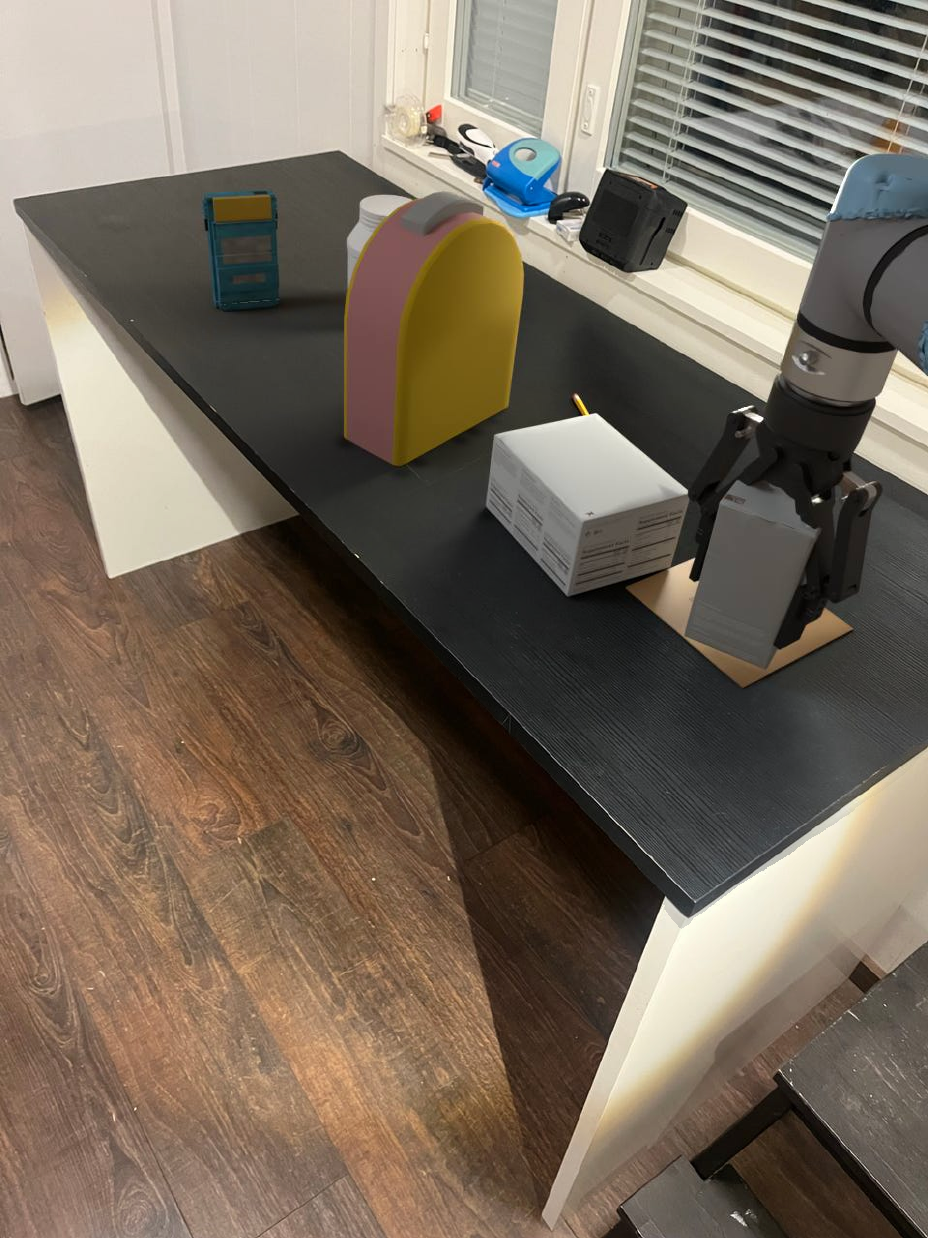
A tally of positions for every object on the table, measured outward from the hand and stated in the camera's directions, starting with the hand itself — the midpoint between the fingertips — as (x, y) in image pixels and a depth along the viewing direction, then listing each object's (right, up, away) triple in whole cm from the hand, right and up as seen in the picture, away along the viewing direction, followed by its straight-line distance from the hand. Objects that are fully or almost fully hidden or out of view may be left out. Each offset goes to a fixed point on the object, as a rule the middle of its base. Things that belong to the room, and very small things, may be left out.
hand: (742, 607), depth 86 cm
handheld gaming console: (-56, +44, +50) cm, 86 cm away
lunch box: (-29, +23, +30) cm, 48 cm away
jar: (-36, +43, +52) cm, 77 cm away
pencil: (-9, +23, +33) cm, 42 cm away
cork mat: (+2, 0, +9) cm, 9 cm away
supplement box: (-13, +8, +15) cm, 22 cm away
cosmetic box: (0, -3, +3) cm, 4 cm away
